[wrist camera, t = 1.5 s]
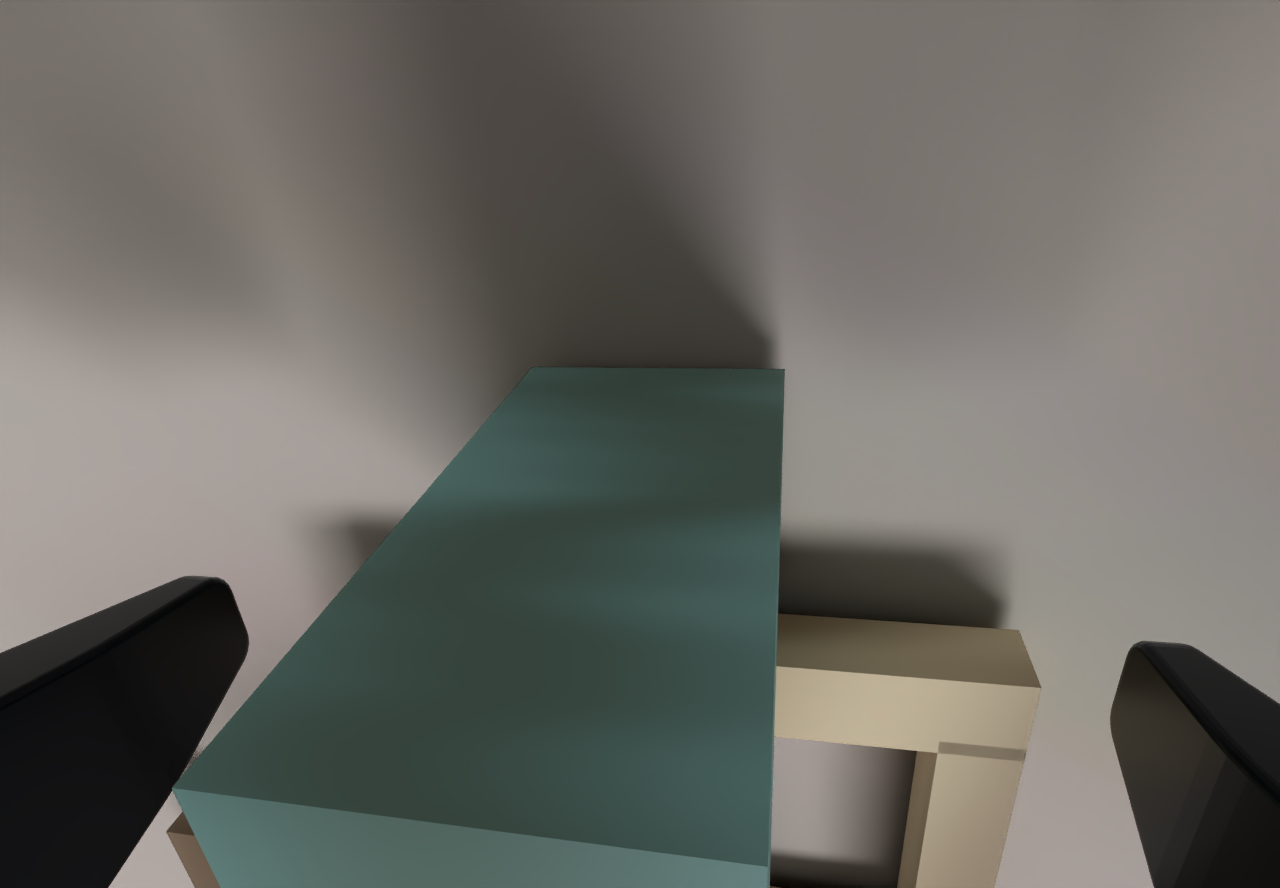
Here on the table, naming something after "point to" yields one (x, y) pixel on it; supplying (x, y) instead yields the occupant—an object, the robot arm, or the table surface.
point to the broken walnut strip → (191, 854)
